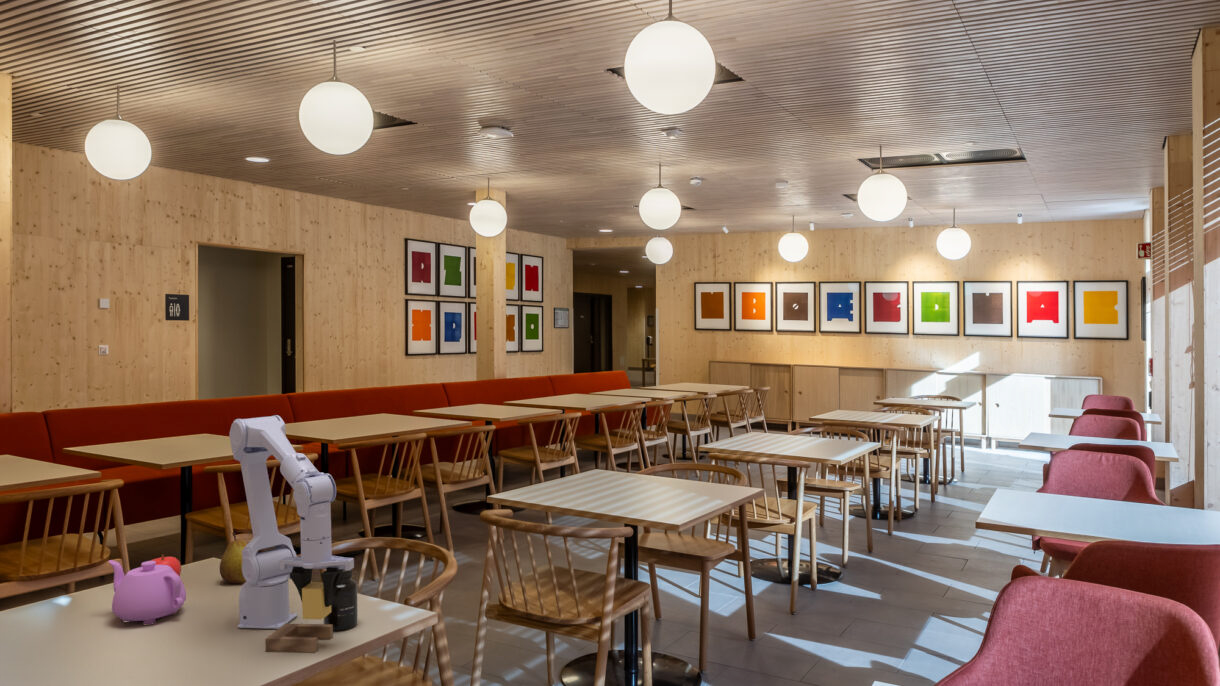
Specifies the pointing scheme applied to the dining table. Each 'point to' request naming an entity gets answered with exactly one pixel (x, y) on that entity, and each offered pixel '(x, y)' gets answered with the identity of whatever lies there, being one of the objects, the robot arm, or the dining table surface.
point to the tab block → (314, 601)
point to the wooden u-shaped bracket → (298, 637)
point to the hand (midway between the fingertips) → (317, 604)
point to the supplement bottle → (344, 604)
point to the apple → (169, 563)
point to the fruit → (233, 562)
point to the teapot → (146, 592)
